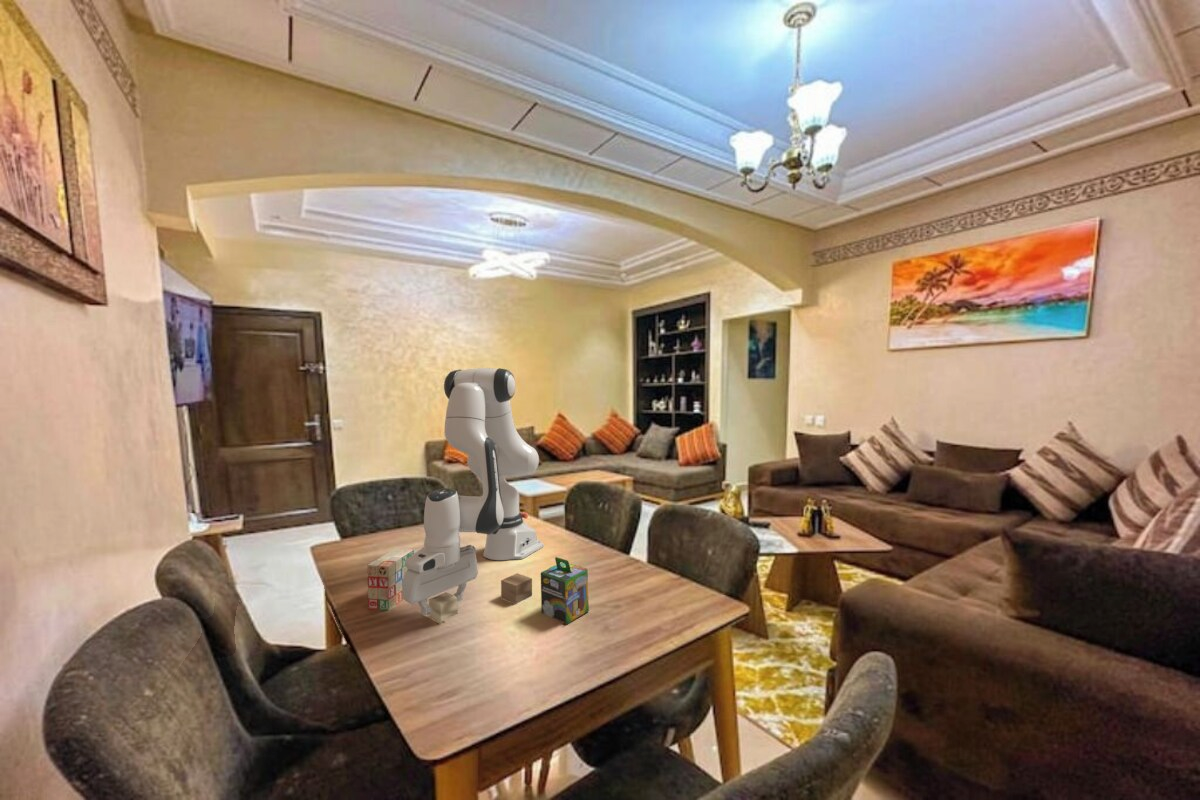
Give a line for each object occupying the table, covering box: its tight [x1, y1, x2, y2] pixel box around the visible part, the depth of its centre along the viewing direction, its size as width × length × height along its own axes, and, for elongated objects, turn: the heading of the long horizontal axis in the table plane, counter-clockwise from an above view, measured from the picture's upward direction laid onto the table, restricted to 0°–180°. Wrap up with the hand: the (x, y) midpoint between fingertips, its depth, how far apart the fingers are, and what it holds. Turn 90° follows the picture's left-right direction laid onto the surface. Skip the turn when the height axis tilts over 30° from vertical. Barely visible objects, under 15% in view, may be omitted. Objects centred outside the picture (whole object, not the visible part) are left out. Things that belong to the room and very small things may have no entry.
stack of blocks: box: [367, 547, 422, 611], centre depth 132 cm, size 21×6×12 cm, turn 171°
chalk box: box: [540, 556, 590, 626], centre depth 119 cm, size 9×9×15 cm
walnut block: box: [500, 572, 533, 605], centre depth 127 cm, size 6×6×5 cm
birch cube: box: [428, 591, 459, 625], centre depth 117 cm, size 5×5×5 cm
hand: (442, 607), depth 117 cm, fingers open, 8 cm apart
